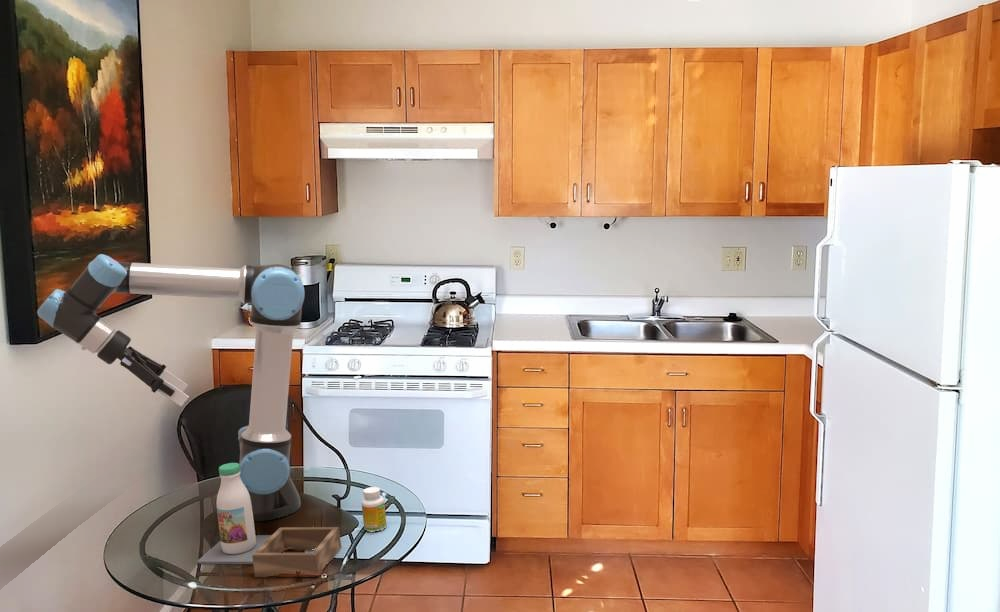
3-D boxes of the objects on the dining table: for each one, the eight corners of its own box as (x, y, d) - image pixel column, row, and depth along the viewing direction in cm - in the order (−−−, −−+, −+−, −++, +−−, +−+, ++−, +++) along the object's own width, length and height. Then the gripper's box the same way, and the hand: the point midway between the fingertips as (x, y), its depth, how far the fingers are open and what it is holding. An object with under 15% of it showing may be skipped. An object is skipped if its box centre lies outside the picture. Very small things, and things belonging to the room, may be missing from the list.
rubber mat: (226, 537, 205) (226, 535, 205) (280, 537, 202) (280, 535, 202) (197, 564, 191) (196, 561, 191) (255, 564, 189) (255, 561, 189)
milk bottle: (237, 539, 202) (226, 458, 199) (263, 542, 199) (253, 460, 196) (214, 553, 195) (203, 470, 192) (241, 556, 192) (231, 472, 189)
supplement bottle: (382, 533, 201) (378, 494, 199) (360, 532, 202) (356, 493, 200) (389, 523, 206) (386, 485, 204) (368, 523, 207) (364, 485, 205)
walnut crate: (282, 548, 196) (279, 527, 196) (341, 547, 194) (339, 527, 193) (254, 577, 182) (252, 555, 182) (318, 577, 180) (315, 555, 179)
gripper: (99, 346, 204) (173, 396, 212) (90, 364, 181) (174, 420, 188) (120, 322, 205) (193, 373, 213) (113, 336, 182) (196, 393, 190)
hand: (184, 395), depth 201 cm, fingers open, 13 cm apart
